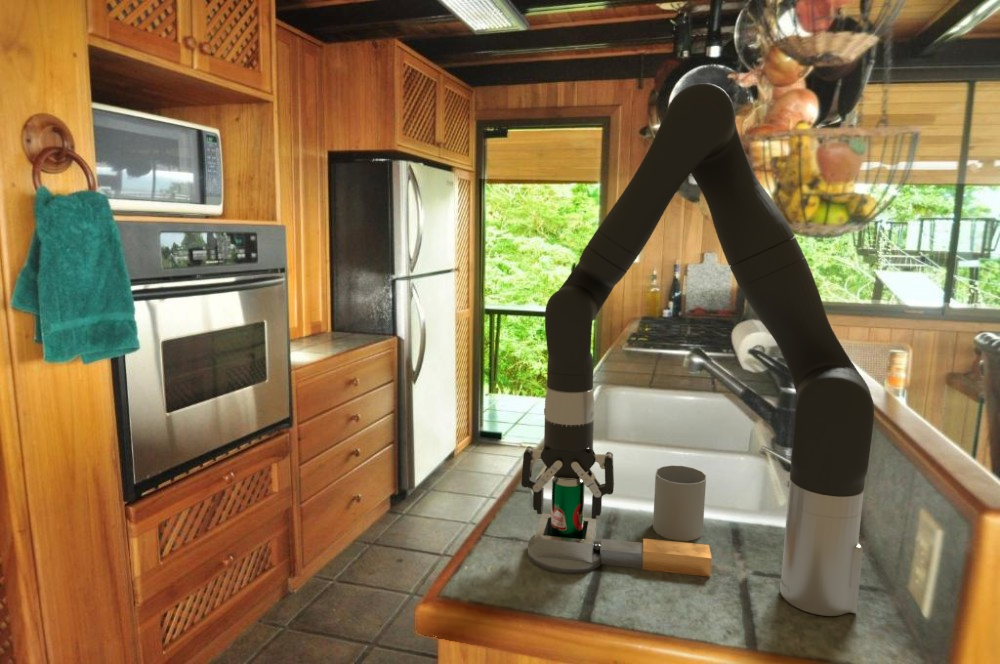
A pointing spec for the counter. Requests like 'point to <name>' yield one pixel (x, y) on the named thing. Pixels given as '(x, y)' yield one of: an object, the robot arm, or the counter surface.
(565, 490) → the soda can
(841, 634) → the counter surface
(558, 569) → the ratchet
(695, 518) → the cup
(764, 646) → the counter surface
